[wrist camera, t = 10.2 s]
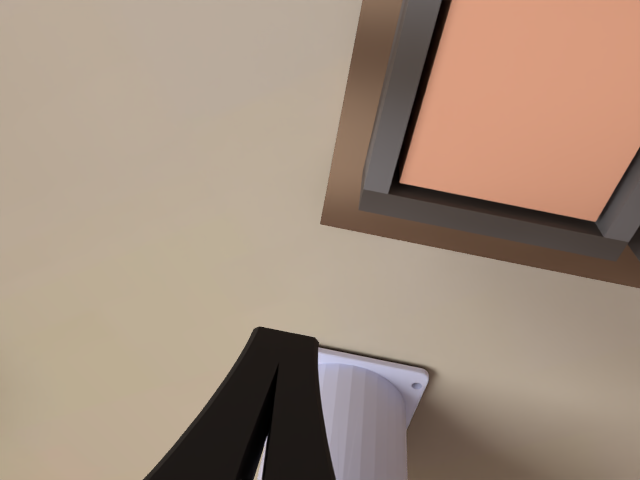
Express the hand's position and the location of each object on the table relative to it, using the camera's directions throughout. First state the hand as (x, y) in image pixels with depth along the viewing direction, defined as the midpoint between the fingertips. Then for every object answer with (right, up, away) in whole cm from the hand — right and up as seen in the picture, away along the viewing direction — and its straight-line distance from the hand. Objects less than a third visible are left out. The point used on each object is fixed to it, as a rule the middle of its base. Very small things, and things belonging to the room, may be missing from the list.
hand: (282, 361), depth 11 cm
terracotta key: (+7, +8, +5) cm, 11 cm away
